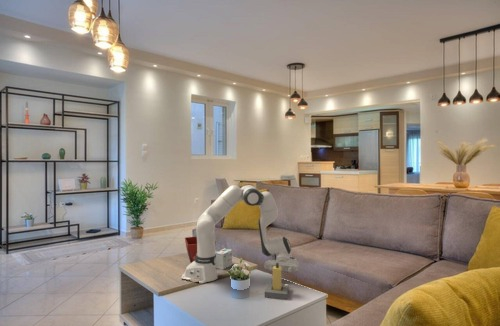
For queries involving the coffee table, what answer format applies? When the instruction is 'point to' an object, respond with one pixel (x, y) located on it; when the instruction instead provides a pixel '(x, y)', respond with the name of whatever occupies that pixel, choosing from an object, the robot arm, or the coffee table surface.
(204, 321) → the coffee table surface
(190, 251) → the plant pot
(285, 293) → the socket
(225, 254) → the light bulb box
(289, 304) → the coffee table surface
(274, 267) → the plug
